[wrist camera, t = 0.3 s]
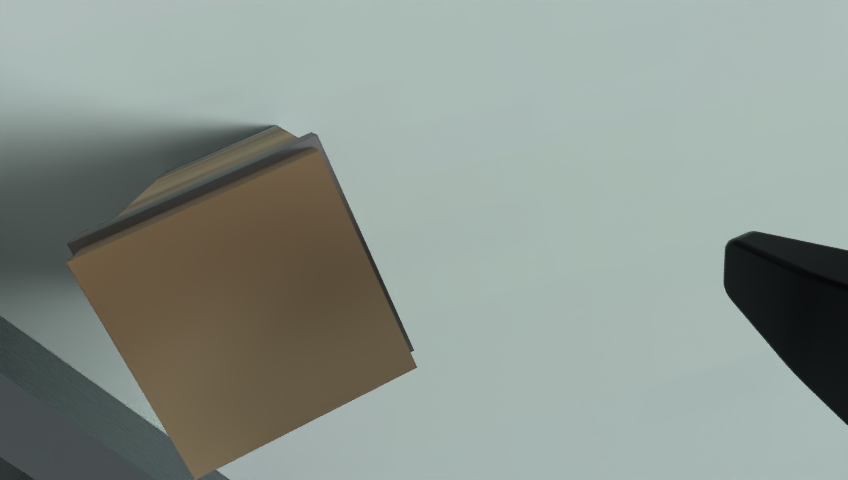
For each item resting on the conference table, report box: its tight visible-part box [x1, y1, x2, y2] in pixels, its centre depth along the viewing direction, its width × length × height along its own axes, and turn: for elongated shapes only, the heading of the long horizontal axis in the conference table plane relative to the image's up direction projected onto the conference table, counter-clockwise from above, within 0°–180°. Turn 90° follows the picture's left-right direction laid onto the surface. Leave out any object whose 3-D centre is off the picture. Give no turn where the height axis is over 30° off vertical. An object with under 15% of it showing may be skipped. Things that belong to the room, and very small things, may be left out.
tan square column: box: [66, 125, 417, 480], centre depth 17 cm, size 4×4×13 cm
